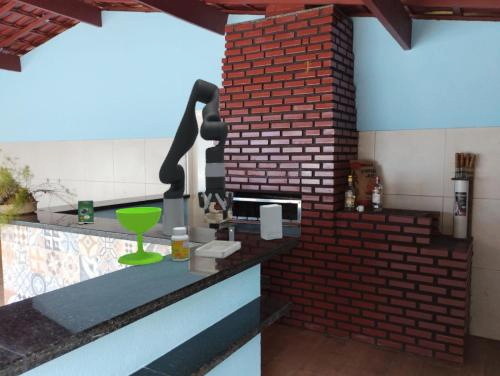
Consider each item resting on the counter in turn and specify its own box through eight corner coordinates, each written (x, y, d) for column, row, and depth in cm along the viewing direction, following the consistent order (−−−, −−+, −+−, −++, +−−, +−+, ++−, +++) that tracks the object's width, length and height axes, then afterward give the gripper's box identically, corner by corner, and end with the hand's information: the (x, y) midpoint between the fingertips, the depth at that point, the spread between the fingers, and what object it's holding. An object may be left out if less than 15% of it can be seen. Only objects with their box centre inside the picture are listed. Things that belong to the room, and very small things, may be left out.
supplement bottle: (167, 260, 151) (167, 228, 150) (180, 256, 156) (179, 226, 155) (180, 262, 147) (179, 230, 146) (192, 258, 152) (192, 227, 151)
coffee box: (93, 222, 238) (92, 199, 237) (94, 223, 235) (93, 200, 234) (78, 224, 234) (77, 200, 233) (79, 224, 232) (77, 201, 230)
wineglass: (108, 263, 147) (106, 212, 145) (132, 253, 162) (131, 206, 161) (149, 266, 143) (147, 213, 141) (170, 255, 158) (169, 207, 156)
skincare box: (276, 236, 192) (275, 203, 190) (282, 238, 186) (282, 205, 185) (259, 238, 188) (259, 205, 187) (266, 240, 182) (265, 206, 181)
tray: (194, 256, 155) (194, 249, 155) (214, 246, 172) (214, 240, 172) (223, 258, 152) (223, 251, 151) (240, 248, 168) (240, 241, 168)
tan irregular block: (214, 217, 168) (214, 210, 168) (232, 218, 166) (232, 210, 166) (200, 222, 156) (200, 214, 156) (219, 223, 154) (219, 215, 153)
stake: (228, 243, 177) (227, 227, 176) (229, 242, 178) (229, 226, 178) (233, 244, 176) (233, 227, 175) (235, 243, 178) (234, 227, 177)
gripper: (236, 174, 159) (237, 218, 160) (202, 174, 163) (203, 217, 165) (229, 175, 152) (230, 221, 153) (193, 175, 156) (194, 220, 158)
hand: (216, 219), depth 159 cm, fingers closed on tan irregular block, 6 cm apart
